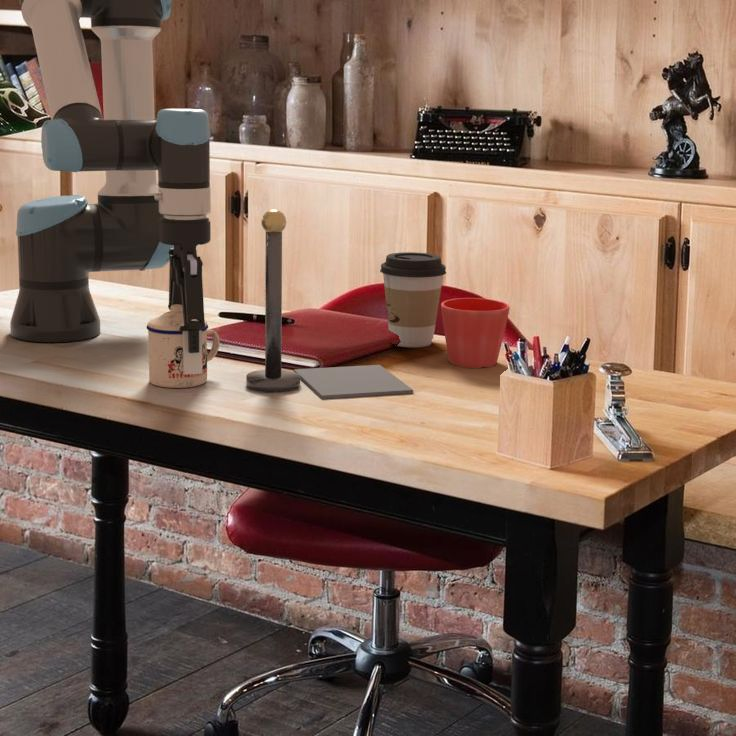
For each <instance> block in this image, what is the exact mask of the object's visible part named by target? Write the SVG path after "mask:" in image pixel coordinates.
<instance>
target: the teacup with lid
mask: <svg viewBox="0 0 736 736" xmlns="http://www.w3.org/2000/svg"><path fill="white" fill-rule="evenodd" d="M195 320H196V319H195ZM191 321H194V320H191ZM180 326H184V318H183V308H182V305H179V304H176V305H172V306H171V307H170V310H169V311H166V312H164V313H163V314H161V315H160V316H158V317H155V318H151V319H150V320H149V321H148V322H147V325H146V329H147V331H148V332H147V333H148V334H147V335H148V336H147V338H148V341H147V342H148V380H149V382H150V384H152V385H154V386H156V387H160V388H165V389H166V388H168V389H183V388H184V389H186V388H194V387H199V386H201V385H203V384H205V383H206V382H207V381H208V362H210V361H212V360H213V359H215V357H216V356H217V353H218V351H219V349H220V336H219V334H218V333H217V331H215V330H213V329H210V328H209V325H208V322H207V320H205V328H202V374H185V375H184V374H183V331H180V330H179V328H180ZM208 335H210V336H211V338H212V345H211V349H210V351H209V353H208V343H207V341H208V337H207V336H208Z"/></svg>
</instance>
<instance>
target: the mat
mask: <svg viewBox="0 0 736 736" xmlns="http://www.w3.org/2000/svg"><path fill="white" fill-rule="evenodd" d="M293 372H296V373H298V374H299V375H300V381H302V382H303V383H305V385H307V386H308V388H309V389H310V390H312V391H313V393H315V394H316V396H318V397H319V398H320V399H322V400H324V399H325V400H326V399H339V398H340V399H341V398H355V397H356V398H358V397H371V396H372V397H373V396H387V395H404V394H414V389H413V388H411V386H409V385H407V384H406V383H405V382H403V381H402V380H401V379H400V378H398V377H397V376H395V375H394V374H393V373H391V372H390V371H389V370H387V369H386V368H385V367H383V366H382V365H380V364H369V365H354V366H353V365H351V366H348V365H347V366H335V367H333V366H332V367H315V368H314V367H313V368H295V369H293Z"/></svg>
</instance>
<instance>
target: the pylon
mask: <svg viewBox="0 0 736 736" xmlns="http://www.w3.org/2000/svg"><path fill="white" fill-rule="evenodd" d="M261 226H262V229H263V230H264V231H265V270H264V271H265V272H264V274H265V284H264V285H265V286H264V287H265V290H264V292H265V295H264V296H265V299H264V300H265V304H264V305H265V306H264V307H265V309H264V312H265V316H264V319H265V321H264V322H265V324H264V325H265V326H264V330H265V331H264V333H265V335H264V338H265V341H264V342H265V343H264V344H265V345H264V347H265V350H264V352H265V353H264V356H265V357H264V359H265V360H264V364H265V365H264V366H265V367H264V369H259V370H255V371H251V372H248V373H247V374H246V377H245V378H246V381H245V384H246V386H245V387H246V388H248V389H249V390H251V391H255V392H260V393H272V394H274V393H287V392H291V391H295V390H298V389H299V388H301V379H300V375H299V374H298V373H296V372H294V371H293V370H285V369H282V348H283V346H282V345H283V343H282V333H283V332H282V330H283V329H282V327H283V326H282V322H283V321H282V319H283V318H282V314H283V313H282V310H283V306H282V305H283V304H282V303H283V298H282V297H283V295H282V294H283V231H284V230H285V229H286V228H287V227H286V226H287V218H286V215H285V214H284V213H283V212H282V211H280V210H278V209H269V210H267V211H266V212H265V213H264V214H263V215H262V217H261Z"/></svg>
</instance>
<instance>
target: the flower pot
mask: <svg viewBox="0 0 736 736" xmlns="http://www.w3.org/2000/svg"><path fill="white" fill-rule="evenodd" d="M440 307H441V309H440V310H441V317H442V325H443V332H444V333H443V334H444V338H445V344H446V351H447V356H448V362H449V363H450V364H451V365H454V366H456V367H461V368H470V369H472V368H473V369H481V368H490V367H493V366H496V365H497V362H498V359H499V356H500V351H501V348H502V344H503V339H504V335H505V331H506V327H507V323H508V318H509V315H510V305H509V304H508V303H505V302H503V301H499V300H496V299H490V298H480V297H461V298H459V297H458V298H451V299H447V300H444V301H442V302H441V304H440Z"/></svg>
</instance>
